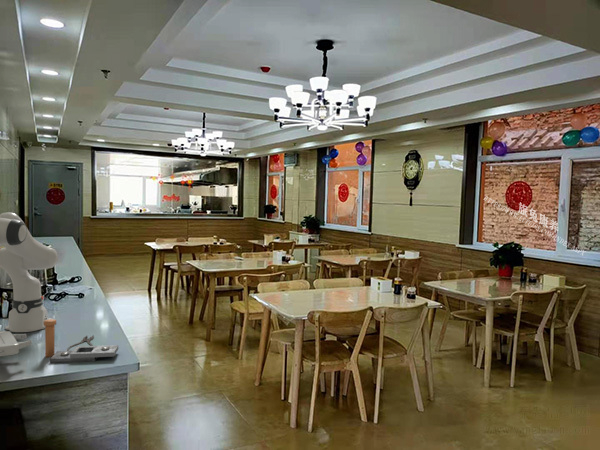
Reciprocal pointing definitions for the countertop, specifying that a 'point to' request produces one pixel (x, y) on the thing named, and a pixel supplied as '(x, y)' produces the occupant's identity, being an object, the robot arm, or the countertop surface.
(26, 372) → the countertop surface
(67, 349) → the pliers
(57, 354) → the grey latch
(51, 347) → the pin
